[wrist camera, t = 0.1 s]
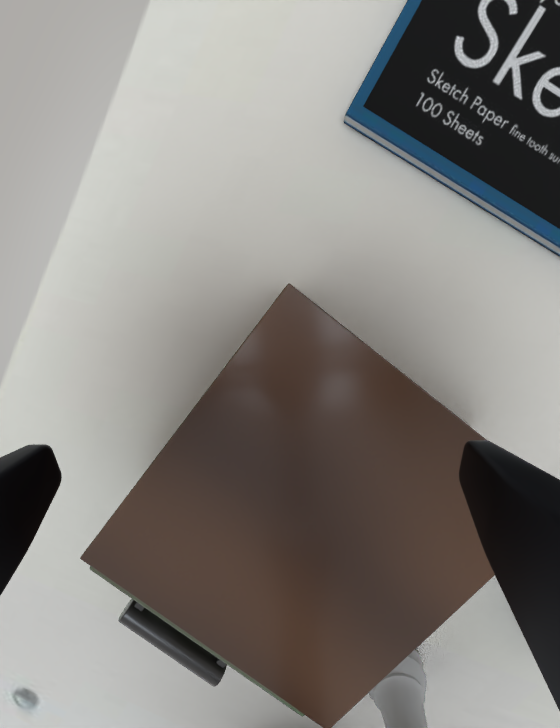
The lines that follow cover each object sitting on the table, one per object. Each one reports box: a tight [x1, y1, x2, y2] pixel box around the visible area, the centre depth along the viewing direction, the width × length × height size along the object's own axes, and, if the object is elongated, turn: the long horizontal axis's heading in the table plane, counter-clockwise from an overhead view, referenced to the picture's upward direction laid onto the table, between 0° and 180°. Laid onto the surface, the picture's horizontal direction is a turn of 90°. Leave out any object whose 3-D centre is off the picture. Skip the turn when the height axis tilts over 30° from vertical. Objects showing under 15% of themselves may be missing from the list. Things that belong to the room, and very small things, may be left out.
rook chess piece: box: [369, 650, 427, 728], centre depth 23 cm, size 4×4×8 cm
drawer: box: [90, 566, 305, 716], centre depth 21 cm, size 19×13×7 cm
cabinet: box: [80, 284, 495, 728], centre depth 20 cm, size 16×15×9 cm
